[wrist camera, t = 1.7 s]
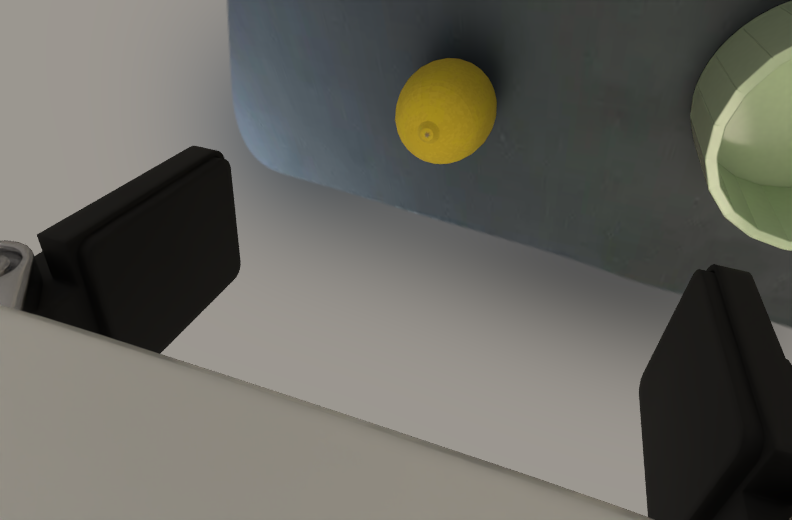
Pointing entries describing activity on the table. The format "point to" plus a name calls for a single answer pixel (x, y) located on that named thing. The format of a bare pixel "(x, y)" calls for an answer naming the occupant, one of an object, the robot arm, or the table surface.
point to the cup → (750, 127)
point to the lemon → (446, 111)
